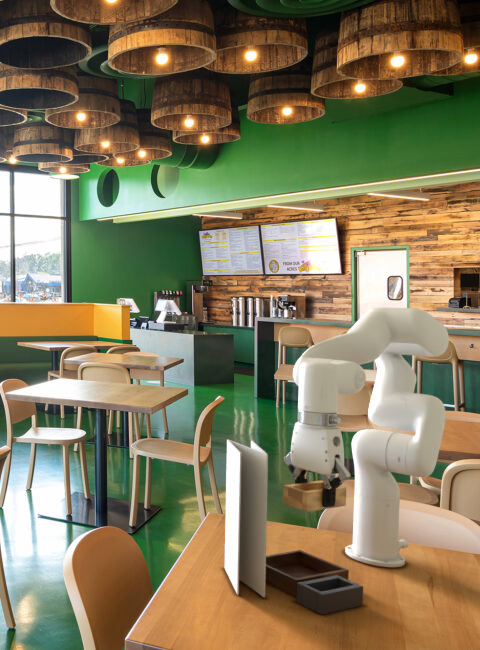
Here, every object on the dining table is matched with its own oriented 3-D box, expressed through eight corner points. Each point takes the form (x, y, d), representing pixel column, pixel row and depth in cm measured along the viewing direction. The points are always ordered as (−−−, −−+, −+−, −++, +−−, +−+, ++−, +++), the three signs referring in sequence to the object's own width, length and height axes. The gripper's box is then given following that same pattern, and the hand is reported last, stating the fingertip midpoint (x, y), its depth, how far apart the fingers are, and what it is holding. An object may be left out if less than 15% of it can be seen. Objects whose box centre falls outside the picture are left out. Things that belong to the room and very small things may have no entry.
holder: (299, 564, 158) (299, 549, 158) (348, 586, 146) (348, 569, 146) (248, 574, 152) (249, 558, 152) (296, 597, 140) (296, 580, 140)
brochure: (265, 597, 139) (268, 454, 138) (237, 594, 140) (240, 453, 140) (249, 570, 153) (252, 440, 152) (224, 568, 154) (227, 439, 153)
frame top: (321, 497, 149) (321, 480, 149) (345, 505, 144) (346, 487, 143) (282, 503, 144) (283, 485, 144) (306, 511, 139) (307, 492, 139)
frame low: (336, 593, 142) (336, 574, 142) (362, 605, 137) (363, 586, 137) (296, 602, 138) (296, 582, 138) (321, 614, 132) (322, 594, 132)
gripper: (366, 425, 137) (363, 512, 138) (295, 411, 153) (292, 489, 153) (342, 427, 134) (339, 516, 134) (271, 413, 150) (269, 492, 150)
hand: (314, 501), depth 144 cm, fingers closed on frame top, 6 cm apart
